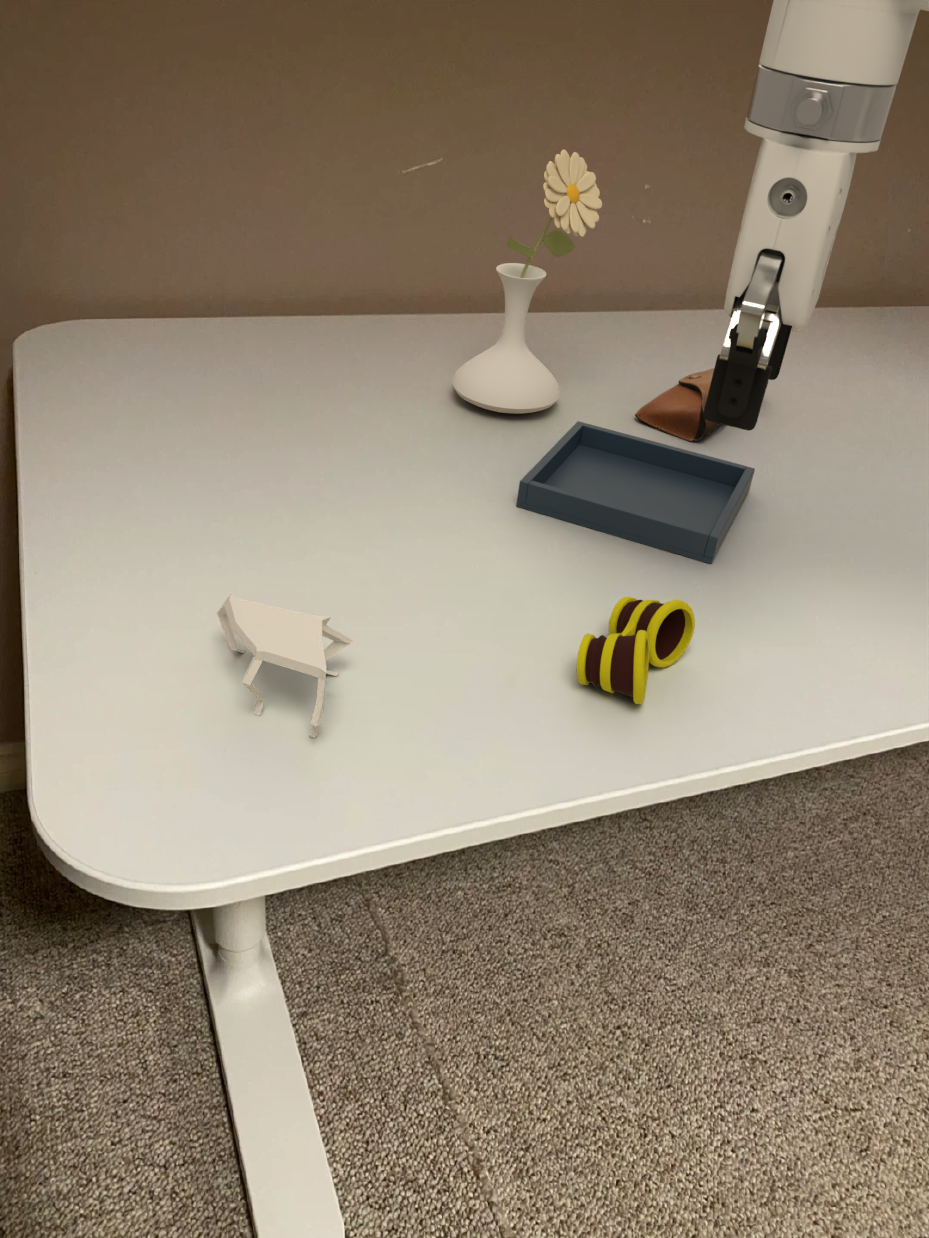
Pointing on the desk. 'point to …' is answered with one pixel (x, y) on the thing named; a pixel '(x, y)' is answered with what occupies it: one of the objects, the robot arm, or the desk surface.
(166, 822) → the desk surface
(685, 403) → the sunglasses case
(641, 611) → the opera glasses
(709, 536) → the tray
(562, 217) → the flower in vase
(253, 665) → the origami figure
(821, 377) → the desk surface
